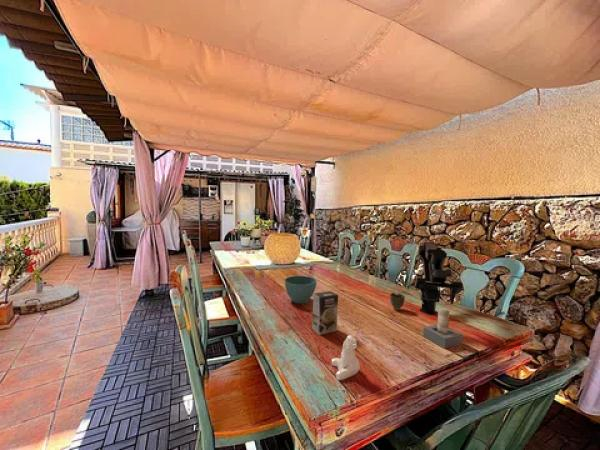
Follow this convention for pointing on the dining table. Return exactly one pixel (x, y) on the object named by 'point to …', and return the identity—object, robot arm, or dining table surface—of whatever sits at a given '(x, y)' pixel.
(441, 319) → the peg
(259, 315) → the dining table surface
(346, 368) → the sitting furry creature
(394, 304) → the cup
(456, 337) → the socket block
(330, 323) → the coffee box
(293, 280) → the plant pot
